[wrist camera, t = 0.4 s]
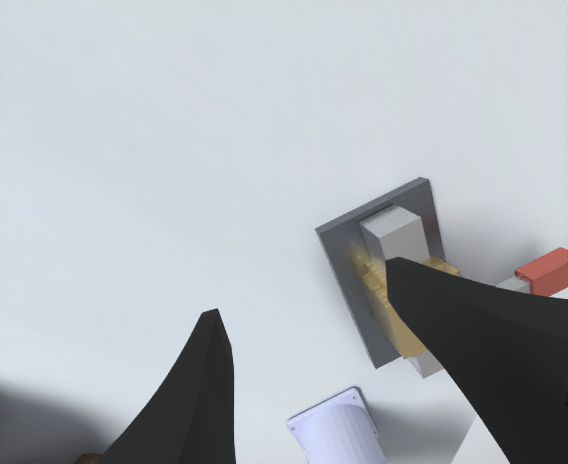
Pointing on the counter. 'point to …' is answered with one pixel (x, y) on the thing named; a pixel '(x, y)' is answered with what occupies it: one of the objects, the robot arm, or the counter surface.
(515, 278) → the valve lever
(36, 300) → the counter surface
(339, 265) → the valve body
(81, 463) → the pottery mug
